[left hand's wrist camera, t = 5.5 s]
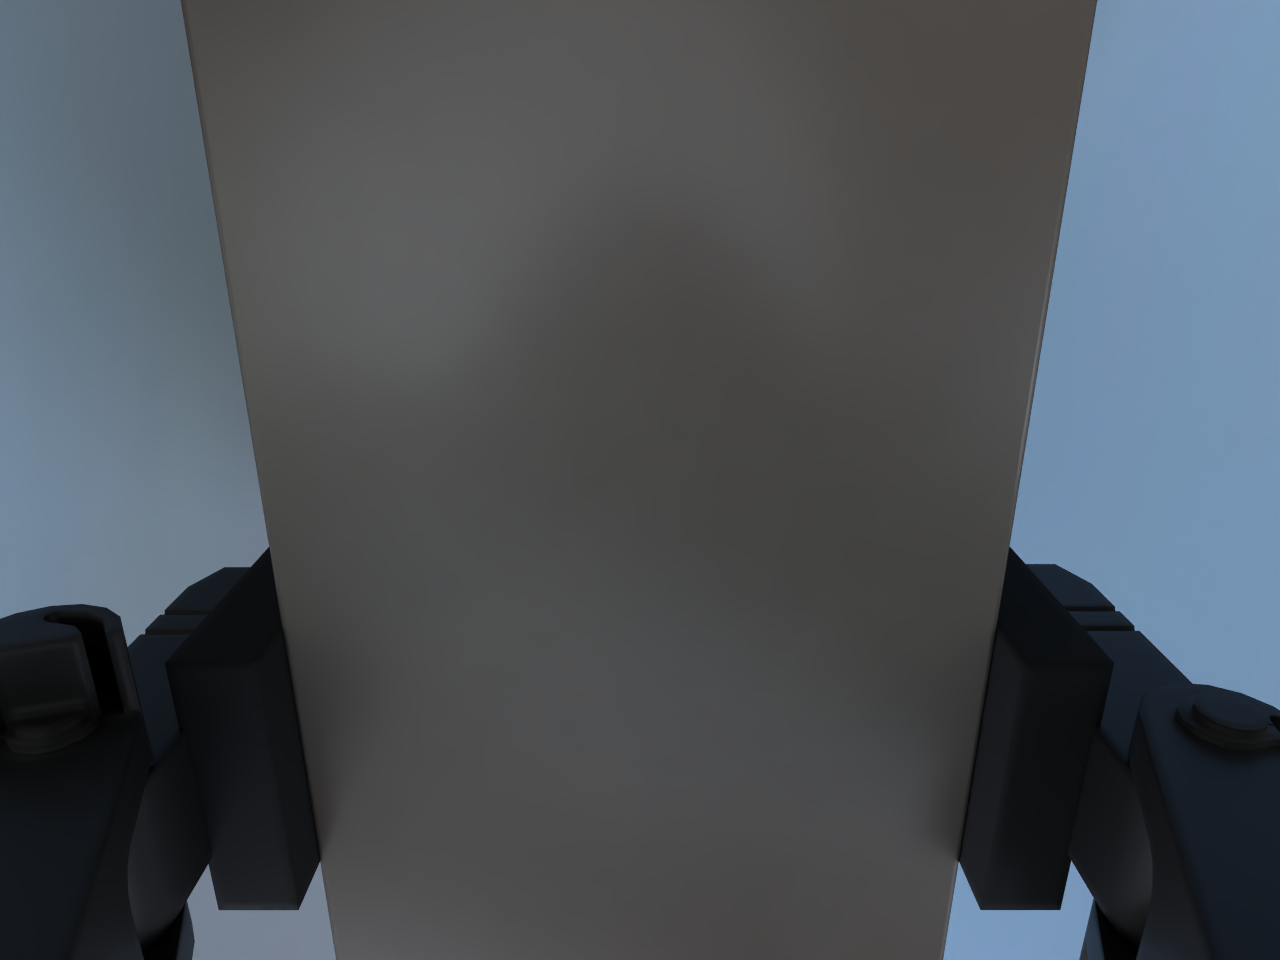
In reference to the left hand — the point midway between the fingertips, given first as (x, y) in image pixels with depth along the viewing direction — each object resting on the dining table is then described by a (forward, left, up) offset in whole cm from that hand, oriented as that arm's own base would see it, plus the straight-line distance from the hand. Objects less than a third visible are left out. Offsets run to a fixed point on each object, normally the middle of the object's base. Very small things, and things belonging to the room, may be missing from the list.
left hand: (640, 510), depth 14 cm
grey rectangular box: (+5, -4, -6) cm, 9 cm away
